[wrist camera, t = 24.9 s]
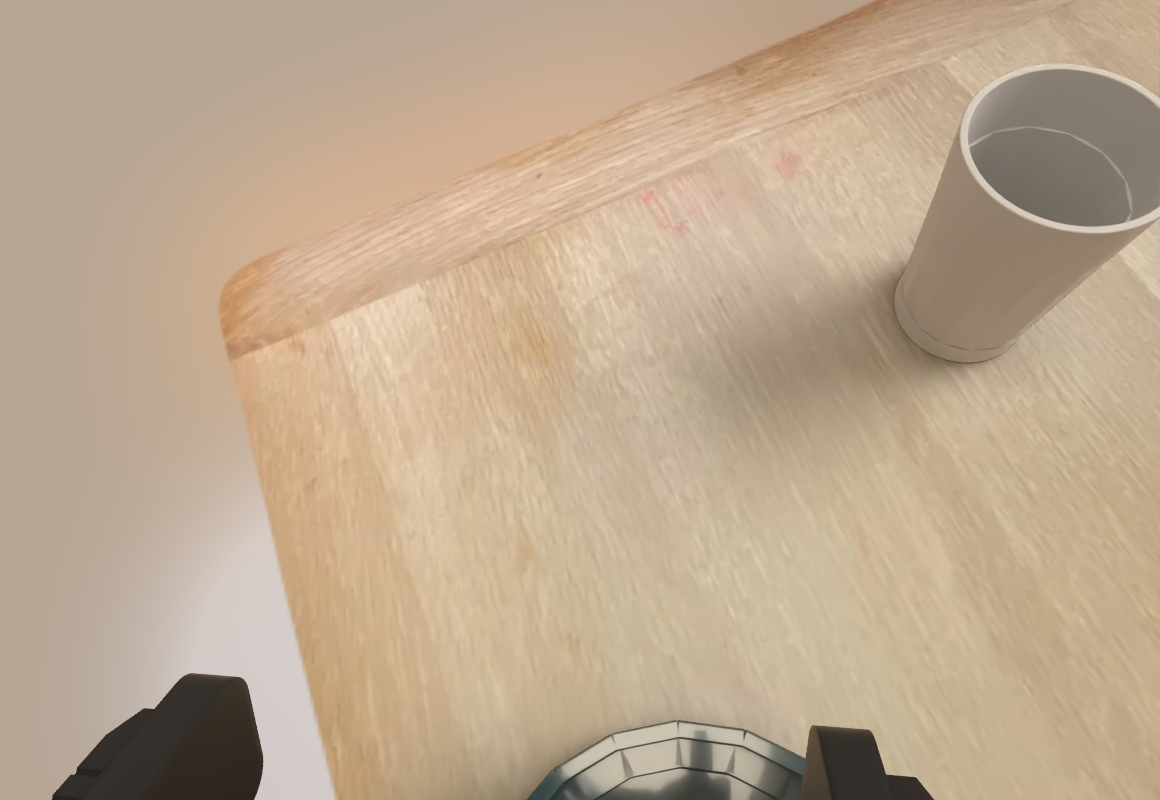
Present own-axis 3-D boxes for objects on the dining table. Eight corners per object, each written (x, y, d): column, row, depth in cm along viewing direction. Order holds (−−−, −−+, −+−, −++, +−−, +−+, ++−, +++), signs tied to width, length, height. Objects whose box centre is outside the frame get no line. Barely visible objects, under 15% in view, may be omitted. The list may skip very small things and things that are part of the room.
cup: (854, 263, 41) (924, 92, 30) (998, 226, 41) (1121, 42, 30) (914, 395, 38) (1019, 257, 27) (1071, 354, 38) (1239, 201, 27)
